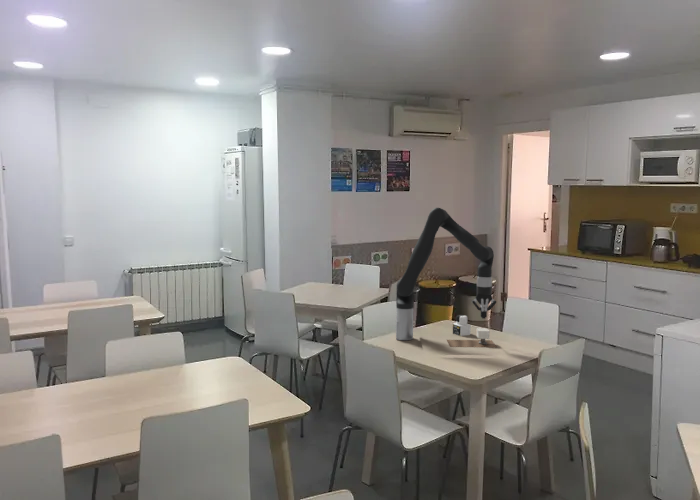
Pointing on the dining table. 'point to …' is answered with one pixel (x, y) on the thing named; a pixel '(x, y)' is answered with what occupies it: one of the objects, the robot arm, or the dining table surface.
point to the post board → (471, 343)
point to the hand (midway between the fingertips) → (483, 318)
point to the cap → (482, 333)
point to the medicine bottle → (461, 326)
